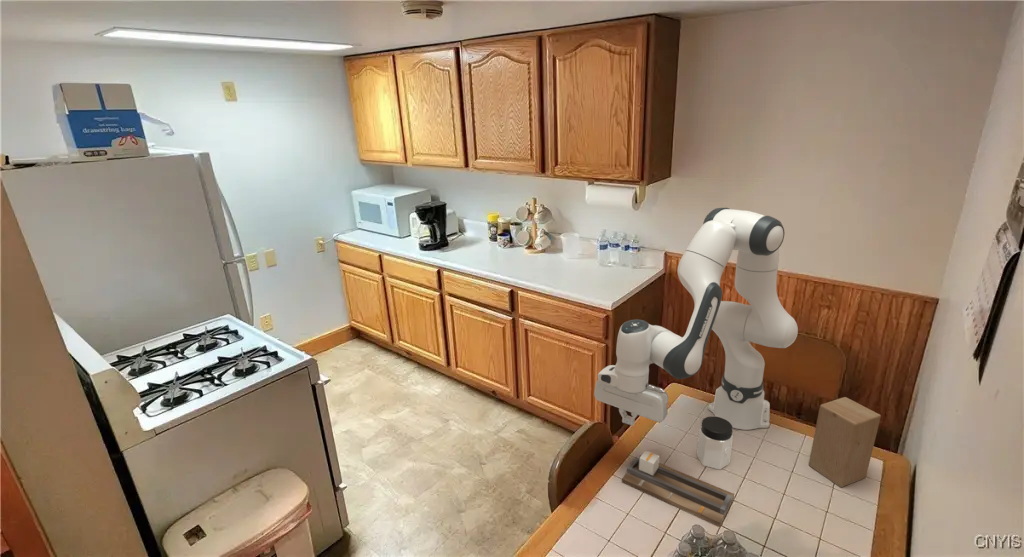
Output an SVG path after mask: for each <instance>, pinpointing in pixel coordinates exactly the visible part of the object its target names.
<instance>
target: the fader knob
mask: <svg viewBox="0 0 1024 557" xmlns="http://www.w3.org/2000/svg"><path fill="white" fill-rule="evenodd" d="M639 457H640V456H639ZM659 463H660V455H658V454H655V453H653V452H650V451H648V450H645V451H643V453H642V455H641V457H640V460H639V470H640V471H641V472H643V473H646V474H648V475H650V476H653V477H654V475H655V474H656V472H657V469H658V468H659Z"/></svg>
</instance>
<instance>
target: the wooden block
mask: <svg viewBox="0 0 1024 557" xmlns="http://www.w3.org/2000/svg"><path fill="white" fill-rule="evenodd" d="M881 417H882V415H881V414H880V413H877V412H875V411H874V410H872V409H870V408H868V407H865V406H864V405H862V404H860V403H858V402H857V401H855V400H852V399H850V398H849V397H846V396H844V397H839V398H837V399H834V400H831V401H829V402H825V403H821V404H820V405H819V410H818V414H817V419H816V425H815V428H814V429H815V431H814V434H813V440H812V445H811V448H810V449H811V450H810V455H809V460H808V466H809V467H810V468H812V469H814V470H815V471H817V472H818V473H819V474H821V475H822V476H824V477H825V478H826V479H828V480H829V481H831V482H832V483H834V484H835V485H837V486H838V487H839V488H843V487H846V486H848V485H851V484H853V483H856V482H858V481H860V480H863V479H865V478H867V474H868V470H869V466H870V462H871V458H872V455H873V454H872V453H873V450H874V446H875V441H876V437H877V434H878V430H879V426H880V421H881Z"/></svg>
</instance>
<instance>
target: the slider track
mask: <svg viewBox="0 0 1024 557" xmlns="http://www.w3.org/2000/svg"><path fill="white" fill-rule="evenodd" d="M641 456H642V455H639V456H635V458H634V459H633V460H632V462H630V464H629V465H628V466H627V467H626V473H625V474H624V476H623V477H622V478H621V483H622V484H625V485H627V486H629V487H631V488H634V489H636V490H638V491H639V492H642V493H645V494H647V495H648V496H651V497H654V498H656V499H658V500H660V501H663V502H665V503H667V504H669V505H671V506H673V507H675V508H678V509H679V510H682V511H684V512H686V513H689V514H691V515H692V516H695V517H696V518H697V517H698V518H700V519H701V520H704V521H706V522H708V523H710V524H713V525H715V526H718V527H720V528H721V525H722V523H723V521H724V519H725V517H726V515H727V512H728V510H729V508H730V507H731V504H732V502H733V500H734V498H735V497H734V496H735V493H734V492H731V491H728V490H726V489H723V488H721V487H718V486H717V485H713V484H711V483H709V482H706V481H705V480H701V479H699V478H697V477H694V476H692V475H689V474H687V473H684V472H682V471H679V470H677V469H675V468H673V467H669V466H667V465H665V464H662V463H660V462H659V468H658V469H657V472H656V474H655V475H654V477H653V476H650V475H648V474H646V473H643V472H641V471H640V470H639V460H640V457H641Z"/></svg>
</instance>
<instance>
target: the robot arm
mask: <svg viewBox="0 0 1024 557" xmlns="http://www.w3.org/2000/svg"><path fill="white" fill-rule="evenodd" d="M784 238H785V228H784V225H783V224H782V222H781V221H780V220H779V219H777V218H775V217H773V216H771V215H764V214H761V213H758V212H755V211H750V210H743V209H733V208H728V207H717V208H713V209H712V210H711V211H710V212H709V213H708V214H706V216H705V218H704V220H703V223H702V225H701V227H700V228H699V229H698V230H697V232H696V233H695V234H694V236H693V237H692V238H691V241H689V243H688V245H687V247H686V249H685V250H684V252H683V254H682V256H681V258H680V260H679V261H678V265H677V276H678V279H679V281H680V283H681V284H682V286H683V287H684V288H685V289H686V290H687V292H688V293H689V294H690V295H691V298H692V300H693V303H694V308H693V312H692V315H691V316H690V320H689V321H688V322H689V323H688V326H687V328H686V332H685V333H684V335H683V336H680V335H678V334H676V333H674V332H673V331H671V330H669V329H667V328H665V327H663V326H661V325H657V324H650V323H649V322H647V321H646V320H643V319H638V318H637V319H630V320H627V321H624V323H622V325H621V326H620V327H619V329H618V330H619V331H618V333H617V339H616V348H615V350H616V351H615V354H616V363H615V365H614V364H612V365H611V364H610V365H607V366H605V367H604V368H603V369H601V371H599V372H598V374H597V379H598V380H596V381H595V385H594V393H593V396H594V398H595V400H596V401H598V402H601V403H604V404H606V405H609V406H613V407H614V408H617V409H618V412H619V415H620V416H621V417H622V419H621V422H622V423H623V424H626V425H629V426H634V425H635V419H636V418H637V417H638V416H639V417H643V418H645V419H648V420H651V421H654V422H656V423H661V422H663V421H665V419H666V418H667V417H668V403H669V393H667V392H666V391H665V390H664V388H662V387H658V386H656V385H654V384H650V383H649V377H650V376H649V374H650V365H651V364H655V365H656V366H658V367H660V368H661V369H662V370H665V372H667V373H668V374H669V375H670V376H672V377H673V378H675V379H677V380H683V379H684V380H685V379H688V378H690V377H692V376H694V375H696V374H697V373H698V372H699V371H700V369H701V368H702V366H703V362H704V361H703V360H704V356H705V350H706V346H707V344H708V341H709V337H710V334H711V333H712V331H713V332H714V333H715V335H716V336H717V337H718V338H719V340H720V342H721V344H722V346H723V350H724V353H725V354H724V355H725V362H724V363H725V365H724V373H723V374H722V378H721V385H720V386H719V387H718V388H717V387H716V390H715V392H714V393H715V394H714V401H712V402H711V403H709V404H708V406H707V409H708V410H709V411H710V412H711V413H713V415H714V416H715V417H720V418H723V419H725V420H727V421H728V422H730V423H731V425H732V427H733V429H737V430H743V431H744V430H745V431H746V430H755V429H767V428H770V412H771V411H770V408H771V406H770V402H769V401H768V400H766V399H765V391H764V381H763V379H764V371H765V365H766V363H765V360H764V357H763V355H762V354H761V353H760V352H759V351H758V350H757V349H755V347H753V346H752V344H751V343H753V344H757V345H760V346H765V347H769V348H775V349H776V348H777V349H786V348H789V347H790V346H791V345H793V343H794V342H795V341H796V339H797V337H798V333H799V328H798V324H797V322H796V320H795V318H794V317H793V316H792V315H790V314H789V312H787V310H786V309H785V308H784V307H783V305H782V303H781V301H780V299H779V296H778V290H777V282H778V271H779V270H778V269H779V262H780V261H779V259H780V258H779V257H780V247H781V246H782V244H783V242H784ZM733 251H737V255H736V263H735V264H736V265H735V266H736V267H735V273H734V274H735V275H734V288H735V291H736V292H737V294H738V295H740V296H741V297H742V298H743V299H745V300H746V301H747V302H748V304H746V303H741V302H736V301H730V300H728V301H727V300H723V299H722V297H723V289H722V288H721V279H722V278H721V277H722V275H723V273H724V271H725V268H726V266H727V264H728V262H729V260H730V258H731V256H732V253H733ZM627 412H629V413H630V415H631V416H630V415H628V413H627Z"/></svg>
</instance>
